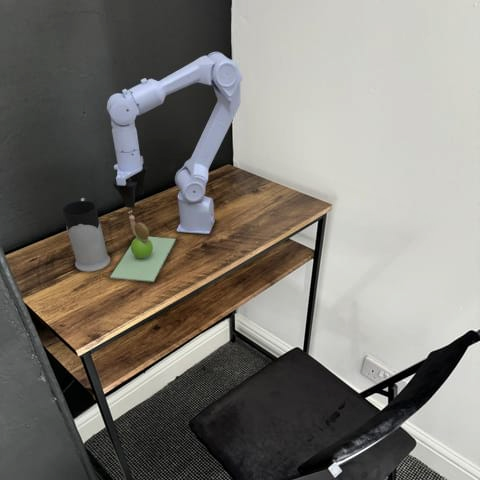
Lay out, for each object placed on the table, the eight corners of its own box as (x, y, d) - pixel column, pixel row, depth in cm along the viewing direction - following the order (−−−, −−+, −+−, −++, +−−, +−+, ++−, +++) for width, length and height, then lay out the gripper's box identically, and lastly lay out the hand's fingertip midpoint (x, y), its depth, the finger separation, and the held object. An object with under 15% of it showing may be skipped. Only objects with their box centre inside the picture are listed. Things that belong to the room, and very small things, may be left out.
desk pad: (175, 239, 126) (175, 238, 126) (153, 282, 111) (153, 280, 111) (137, 237, 127) (137, 235, 127) (110, 278, 112) (109, 276, 112)
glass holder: (74, 273, 114) (57, 218, 104) (78, 244, 125) (63, 191, 115) (110, 269, 115) (97, 214, 106) (110, 240, 126) (99, 188, 116)
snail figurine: (139, 243, 121) (137, 205, 112) (157, 255, 119) (157, 217, 110) (124, 253, 118) (121, 215, 109) (142, 265, 116) (140, 228, 107)
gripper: (121, 137, 118) (129, 187, 127) (100, 158, 107) (110, 211, 116) (148, 139, 118) (154, 189, 126) (129, 160, 107) (137, 214, 115)
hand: (135, 200), depth 121 cm, fingers open, 7 cm apart
